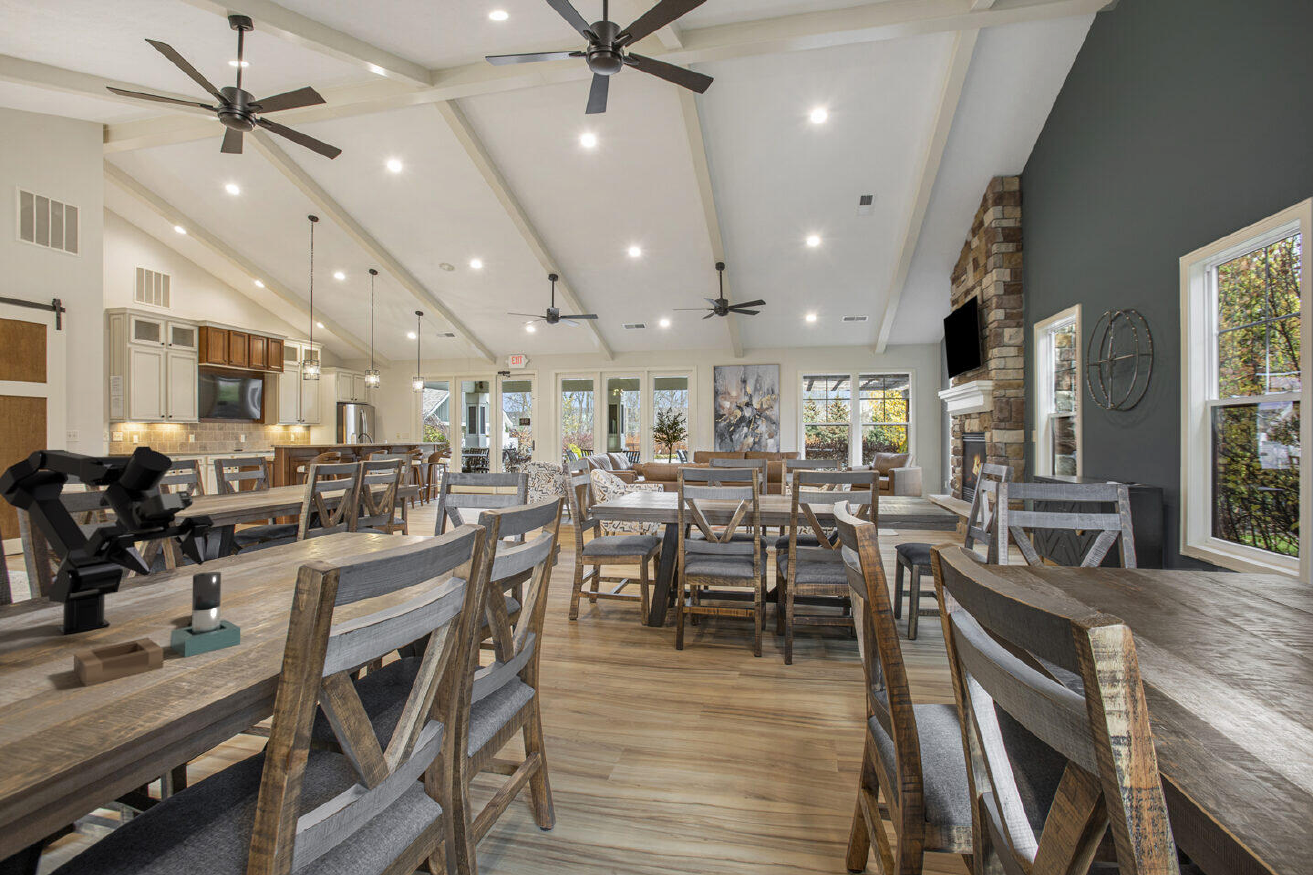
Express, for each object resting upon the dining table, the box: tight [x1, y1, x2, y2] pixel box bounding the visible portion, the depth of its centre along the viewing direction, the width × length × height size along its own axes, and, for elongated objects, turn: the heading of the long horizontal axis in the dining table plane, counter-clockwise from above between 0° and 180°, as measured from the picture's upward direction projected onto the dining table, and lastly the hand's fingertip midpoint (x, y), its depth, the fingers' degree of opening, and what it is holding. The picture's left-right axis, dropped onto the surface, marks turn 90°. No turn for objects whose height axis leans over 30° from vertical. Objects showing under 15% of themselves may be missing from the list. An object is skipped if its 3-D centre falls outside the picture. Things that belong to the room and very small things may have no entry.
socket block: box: [170, 619, 241, 658], centre depth 102 cm, size 8×8×3 cm
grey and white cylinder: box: [191, 571, 222, 636], centre depth 102 cm, size 4×4×13 cm
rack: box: [73, 637, 164, 687], centre depth 91 cm, size 9×9×3 cm
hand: (175, 568), depth 104 cm, fingers open, 9 cm apart
